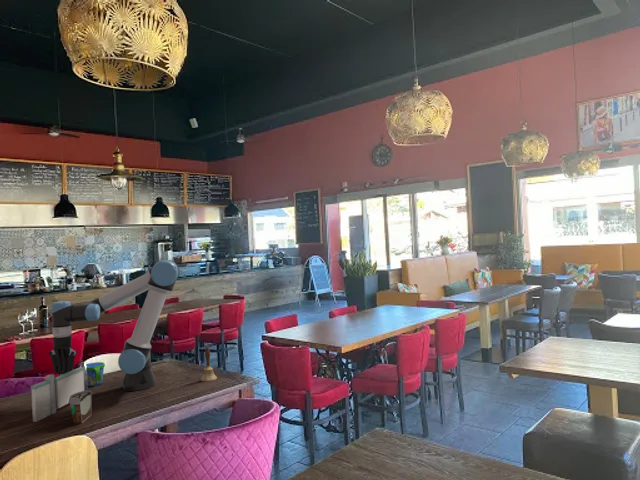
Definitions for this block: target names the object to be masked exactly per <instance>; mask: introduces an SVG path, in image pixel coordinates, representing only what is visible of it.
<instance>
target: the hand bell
mask: <svg viewBox="0 0 640 480" xmlns="http://www.w3.org/2000/svg"><path fill="white" fill-rule="evenodd" d="M204 357H205V362H206V363H205V364H206V366H205V368H203V374H202V376H201V377H200V379H199V380H200V381H201V382H213V381H217V379H218V377H217V375H215V373H214V369H213V367H211V366H210V365H211V364H210V362H211V361H210V358H211V351H210V349H209V347H206V348H205V351H204Z"/></svg>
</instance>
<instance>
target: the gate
mask: <svg viewBox="0 0 640 480" xmlns="http://www.w3.org/2000/svg"><path fill="white" fill-rule="evenodd" d="M83 370H84V367H81V366H80V367H77V368H75V369H74V368H73V370H72V371H70V372H67V373H65V374H63V375H60V376H59V375H58V376H56V377H55V396H56V409H60V408H62V407H64V406H66V405H68V404H69V398H70V396H71V395H73V394H75V393H78V392H82V391H84V377H83Z"/></svg>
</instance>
